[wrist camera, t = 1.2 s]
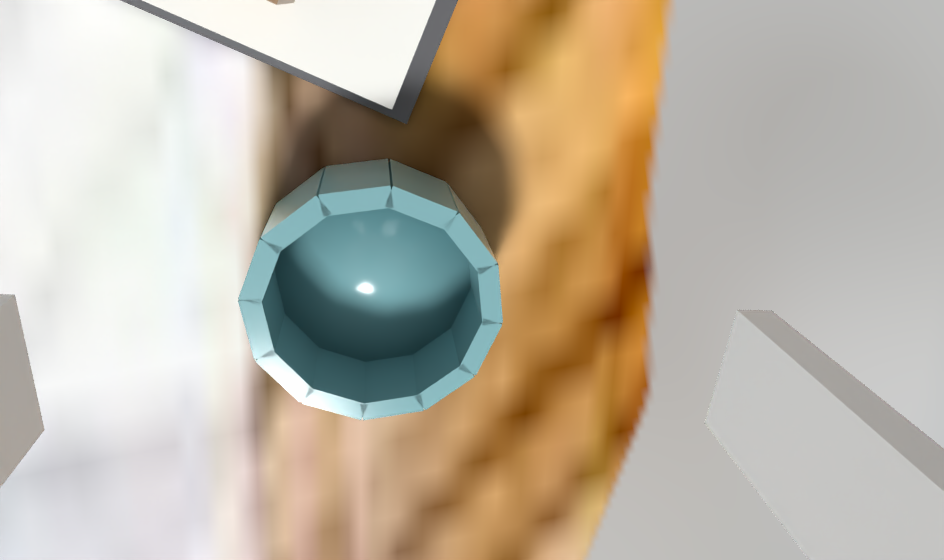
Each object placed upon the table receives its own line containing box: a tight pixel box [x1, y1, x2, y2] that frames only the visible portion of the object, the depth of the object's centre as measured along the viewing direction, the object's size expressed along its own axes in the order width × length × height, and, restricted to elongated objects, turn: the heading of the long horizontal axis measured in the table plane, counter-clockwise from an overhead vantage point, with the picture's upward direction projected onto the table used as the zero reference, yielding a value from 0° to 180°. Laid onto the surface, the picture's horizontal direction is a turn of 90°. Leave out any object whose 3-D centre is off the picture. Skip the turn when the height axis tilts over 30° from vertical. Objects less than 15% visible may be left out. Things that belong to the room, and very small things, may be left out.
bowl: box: [238, 159, 503, 420], centre depth 32 cm, size 12×12×5 cm
